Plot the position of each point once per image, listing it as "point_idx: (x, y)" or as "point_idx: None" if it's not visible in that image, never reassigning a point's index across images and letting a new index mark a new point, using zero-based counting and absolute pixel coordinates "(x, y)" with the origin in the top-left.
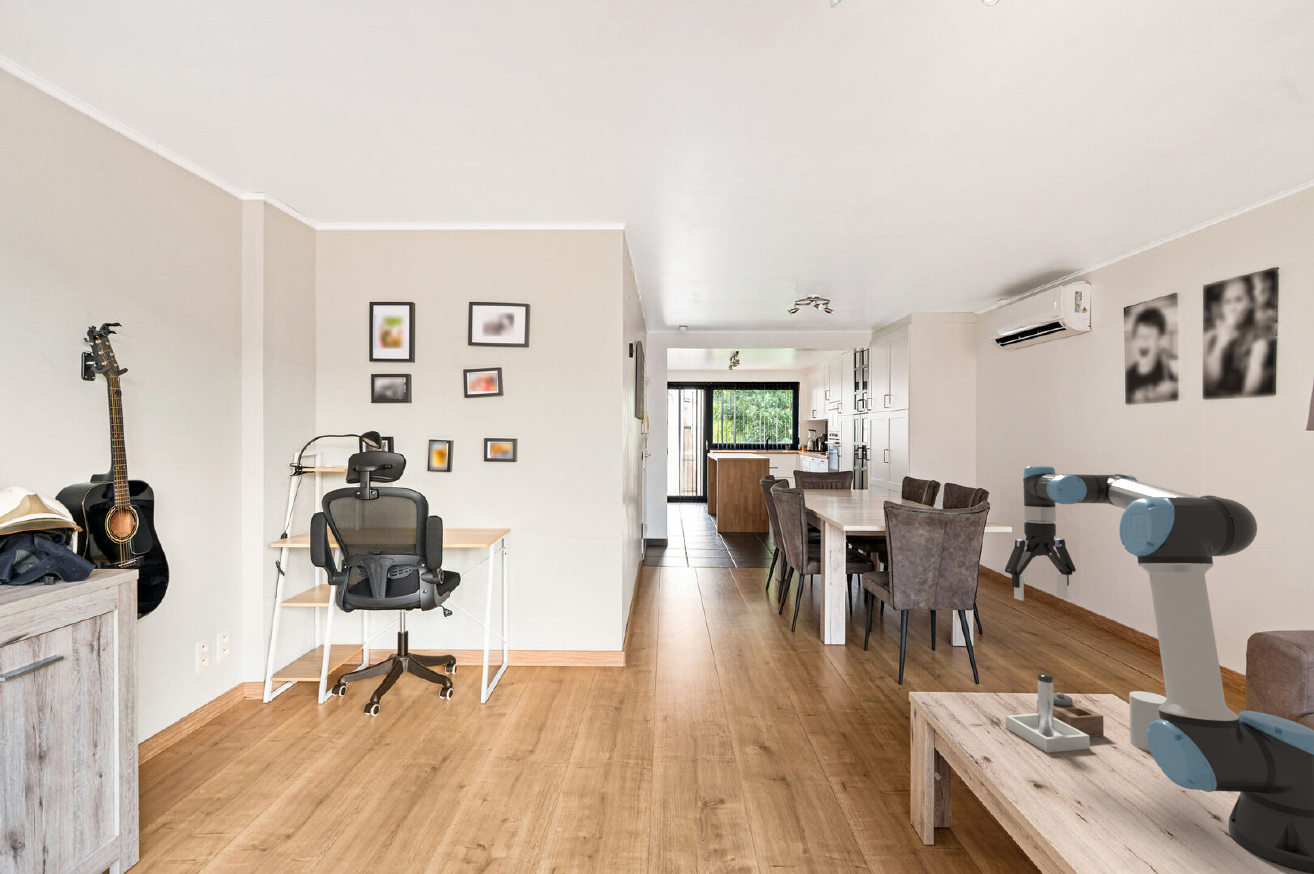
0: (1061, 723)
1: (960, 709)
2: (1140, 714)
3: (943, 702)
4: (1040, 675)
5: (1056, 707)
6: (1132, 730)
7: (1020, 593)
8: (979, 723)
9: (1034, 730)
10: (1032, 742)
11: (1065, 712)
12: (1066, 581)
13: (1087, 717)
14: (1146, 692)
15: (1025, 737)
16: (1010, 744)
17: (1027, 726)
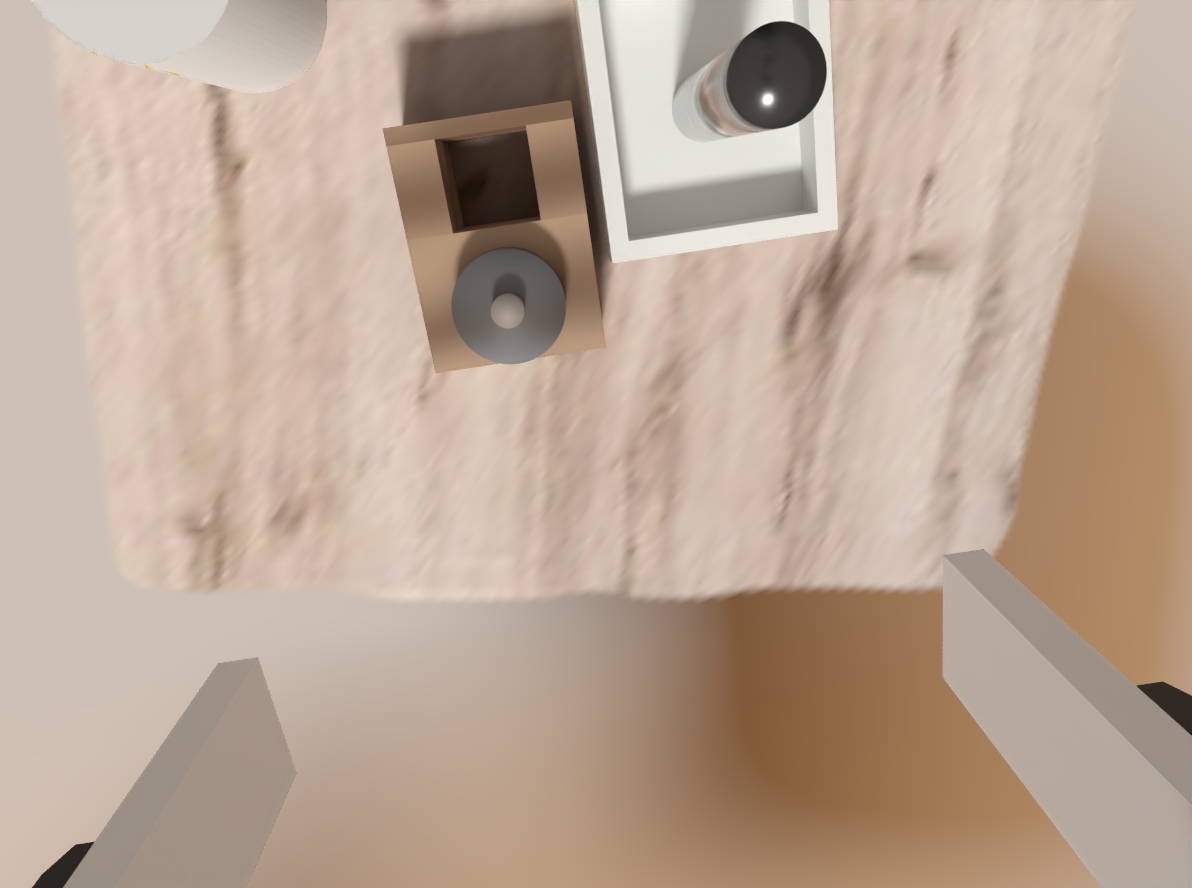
0: (614, 129)
1: (894, 429)
2: None
3: (922, 504)
4: (810, 81)
5: (567, 247)
6: (305, 6)
7: (1041, 613)
8: (907, 276)
9: None
10: None
11: (562, 177)
12: (86, 874)
13: (482, 113)
14: (87, 36)
15: None
16: (916, 39)
17: None
